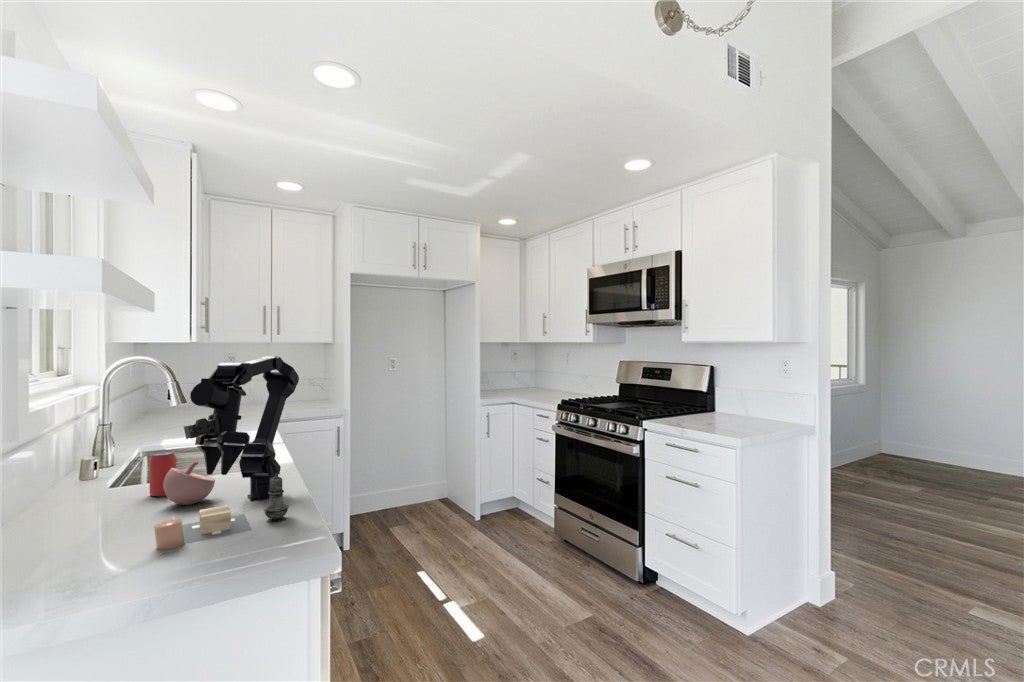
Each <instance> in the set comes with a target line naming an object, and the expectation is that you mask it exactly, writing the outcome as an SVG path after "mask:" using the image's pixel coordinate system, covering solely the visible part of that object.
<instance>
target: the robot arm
mask: <svg viewBox="0 0 1024 682" xmlns="http://www.w3.org/2000/svg"><path fill="white" fill-rule="evenodd" d="M262 374H263V375H262ZM258 375H262V378H263V379H264V380H265V382H266V383H265V384H266V389H267V392H268V397H267V400H266V403H265V406H264V409H263V412H262V415H261V419H260V421H259V424H258V428H257V431H256V433H255V438H254V439H253V441H252V442H250V439H251V438H250V437H251V436H250V434H249V433H248V432H247V431H246V432H243V431H237V430H238V428H237V427H238V421H241V420H242V415H239V414H240V408H241V402H242V397H246V395H247V393H246V390H244V389H243V387H242V386H244V385H246V384H248V383H249V382H251V381H253V379H252V378H253V377H255V376H258ZM298 384H299V375H298V373H297V371H296V370H295V368H294V367H293V366H291V365H289V364H288V363H287V362H285V361H284V360H283V359H282V357H280V356H277V355H276V356H275V355H274V356H273V355H269V356H268V355H267V356H262V357H260V358H257V359H251V360H249V361H246V362H220V363H219V364H217V365H216V368H215V369H214V370H213V372H212V373H211V374H210V376H209V377H202V378H201V380H200V382H199V383H197V384H196V385H195V386H194V387H193V388H192V390H191V391H190V397H189V398H190V400H191V402H192V403H193V405H195V406H198V407H203V408H209V409H213V412H212V414H209V415H208V417H207V418H206V417H203V418H198V419H196V420H195V422H194V423H192V424H188V425H184V426H183V429H184V434H185V438H186V439H185V440H188V439H194V438H195V443H194V445H195V446H196V447H197V449H199V450H200V452H202V453H203V458H204V463H205V472H206V475H210V476H211V475H213V473H214V471H215V470H216V468H217V466H218V464H219V461H220V474H221V476H226V475H227V474H228V473H229V472H230V470H231V469H232V467H233V465H234V464H235V463H236V461H237V460H238V458H239V457H240V459H239V463H238V465H239V469H240V474H241V476H242V478H243V479H245V478H249V488H250V489H249V490H250V491H249V494H247V498H248V499H249V501H250V502H257V501H262V500H267V499H269V500H270V494H268V492H269V491H270V479H271V478H273V477H275V474H277V476H278V477H279V475H281V474H280V473H281V465H280V463H278V461H277V460H276V455H277V454H276V451H275V447H274V441H275V440H274V439H275V437H276V434H277V430H278V426H279V423H280V420H281V417H282V415H283V411H284V406H285V404H286V401H287V399H288V398H289V397H290V396H292V394H294V393H295V390H296V388H297V385H298Z"/></svg>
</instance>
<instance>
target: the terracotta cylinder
mask: <svg viewBox="0 0 1024 682" xmlns="http://www.w3.org/2000/svg"><path fill="white" fill-rule="evenodd" d="M182 525H183V521H182V519H181V518H173V519H169V520H165V521H164V520H163V521H162V522H160V523H157V524H155V525H154V528H153V531H154V536H155V543H156V544H155V546H156V549H157V550H159V551H169V550H174V549H177V548H180V547H182V546H183V545H185V544H184V535H183V527H182Z"/></svg>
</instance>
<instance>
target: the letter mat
mask: <svg viewBox="0 0 1024 682" xmlns="http://www.w3.org/2000/svg"><path fill="white" fill-rule="evenodd" d="M182 527H183V535H184V544H183V545H187V544H192V543H197V542H202V541H206V540H207V541H208V540H211V539H217V538H222V537H227V536H232V535H238V534H243V533H246V532H251V531H253V529H252V527H251V525H250V523H249V520H248V518H247V516H246V514H245V513H241V514H240V513H239V514H235V515H231V529H228V530H223V531H218V532H212V533H207V534H202V535H201V531H200V521H196V522H190V523H185V524H182Z"/></svg>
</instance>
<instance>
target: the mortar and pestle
mask: <svg viewBox="0 0 1024 682" xmlns="http://www.w3.org/2000/svg"><path fill="white" fill-rule="evenodd" d="M198 464H199V461H197V460H196V461H194V462H192V463H191V464H190V466H189V467H188V469H187V470H184V469H180V468H178V467H177V468H171V469H170V470H169V472H168V473H167V475H166V477H165V479H164V485H163V486H164V491H165V494H166V496H165V497H167V498H168V499H169V500H170V501H172V503H175V504H176V505H177V504H178V505H182V506H183V505H184V506H189V505H194V504H197V503H199V502H201V501H203V500H204V499H206V498H207V497H208V496H209V495H210V494H211V493H212V491H213V489H214V487H215V484H216V479H215V478H214V477H212V476H207V475H202V474H198V473H194V472H192V471H194V469H195V467H196V466H197V465H198Z"/></svg>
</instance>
